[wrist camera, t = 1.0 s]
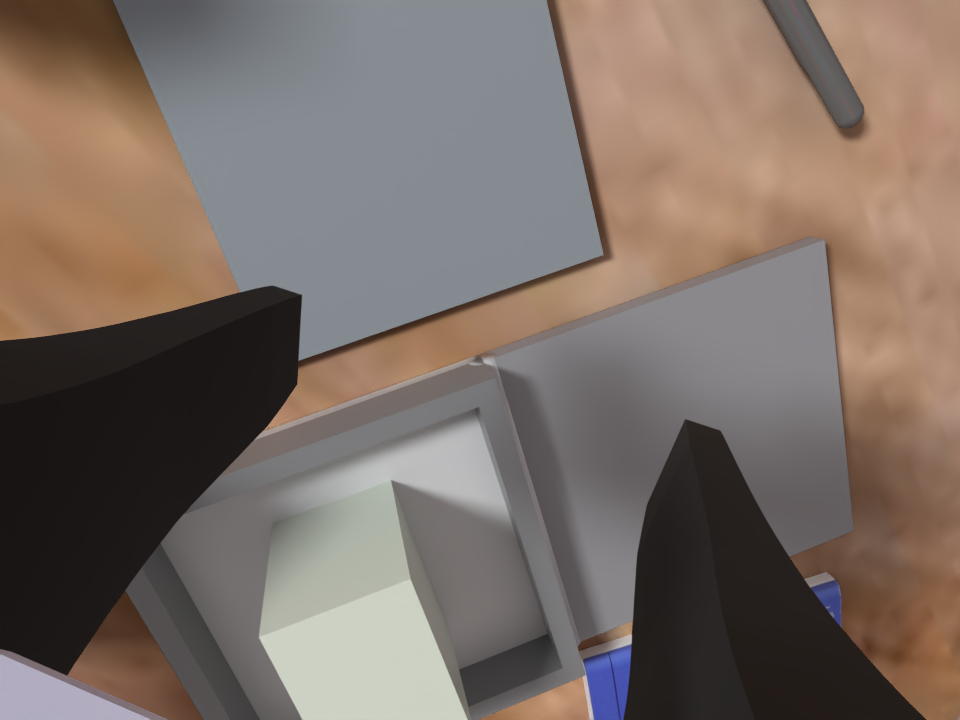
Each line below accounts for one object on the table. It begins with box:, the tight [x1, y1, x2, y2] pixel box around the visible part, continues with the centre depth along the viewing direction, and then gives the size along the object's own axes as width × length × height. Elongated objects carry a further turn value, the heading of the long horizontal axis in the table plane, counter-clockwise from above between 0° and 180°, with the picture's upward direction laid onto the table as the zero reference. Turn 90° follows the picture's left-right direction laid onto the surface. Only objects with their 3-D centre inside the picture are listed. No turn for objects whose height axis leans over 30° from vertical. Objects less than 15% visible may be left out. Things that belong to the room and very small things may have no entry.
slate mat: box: [113, 0, 604, 361], centre depth 22 cm, size 12×12×1 cm
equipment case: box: [125, 237, 854, 720], centre depth 26 cm, size 27×14×2 cm, turn 107°
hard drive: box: [579, 572, 841, 720], centre depth 33 cm, size 2×8×12 cm
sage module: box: [259, 480, 471, 720], centre depth 24 cm, size 4×7×6 cm, turn 17°
